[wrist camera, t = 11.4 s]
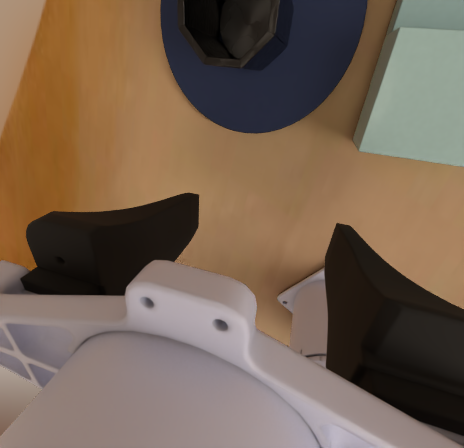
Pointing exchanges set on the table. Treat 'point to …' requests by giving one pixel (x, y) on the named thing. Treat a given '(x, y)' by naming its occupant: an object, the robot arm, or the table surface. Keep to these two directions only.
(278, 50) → the pen cup
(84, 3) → the table surface
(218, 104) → the navy mat
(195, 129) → the table surface
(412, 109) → the shelf riser
